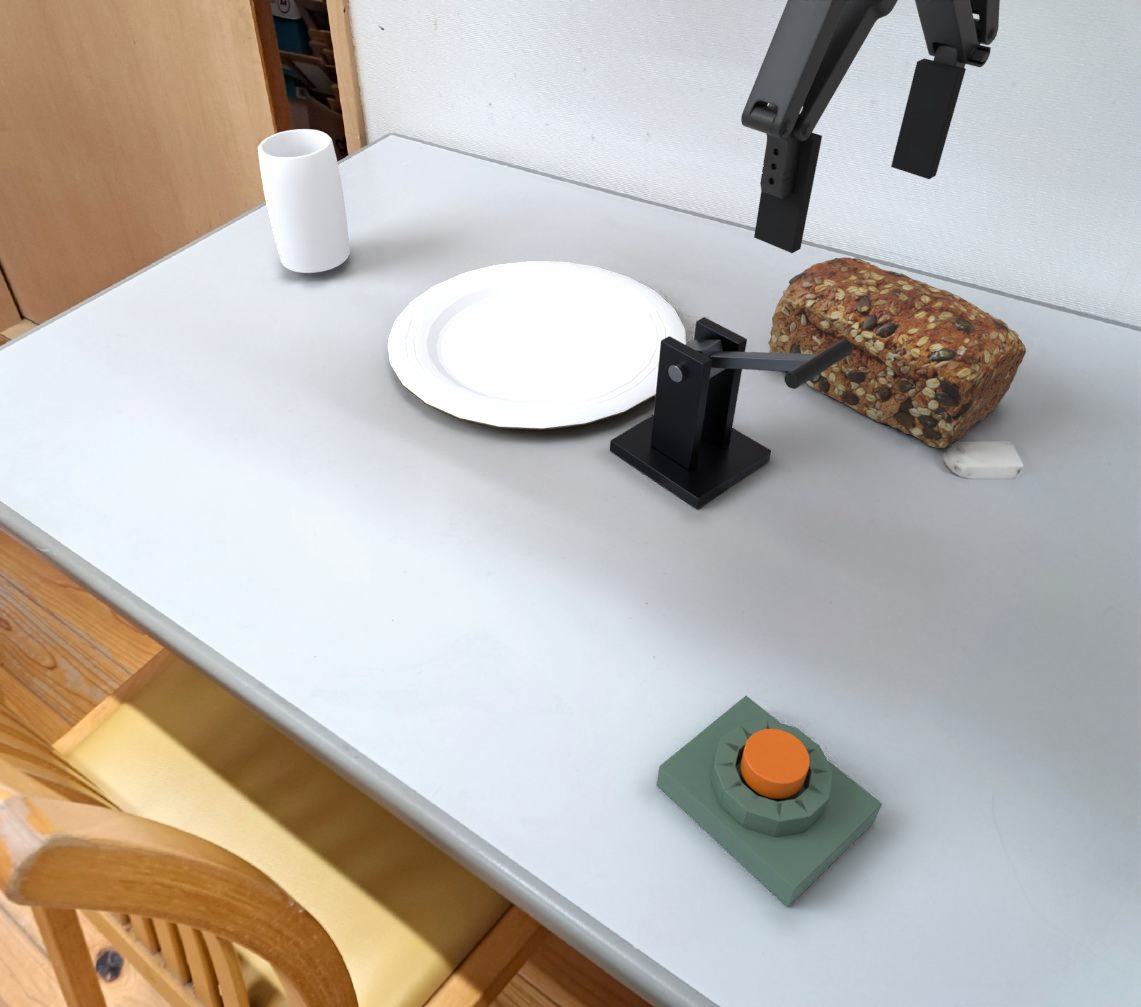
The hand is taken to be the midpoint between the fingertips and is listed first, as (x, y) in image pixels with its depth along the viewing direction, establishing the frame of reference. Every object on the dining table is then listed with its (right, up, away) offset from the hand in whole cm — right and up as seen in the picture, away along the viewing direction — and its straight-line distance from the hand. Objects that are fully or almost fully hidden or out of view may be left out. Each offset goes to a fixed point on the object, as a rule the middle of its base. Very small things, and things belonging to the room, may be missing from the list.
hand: (848, 206), depth 58 cm
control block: (-5, -36, 0) cm, 37 cm away
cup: (-41, +9, +52) cm, 66 cm away
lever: (-2, -9, +13) cm, 16 cm away
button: (-5, -34, -3) cm, 34 cm away
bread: (+14, -8, +29) cm, 34 cm away
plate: (-17, -3, +37) cm, 40 cm away
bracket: (-4, -14, +24) cm, 28 cm away
